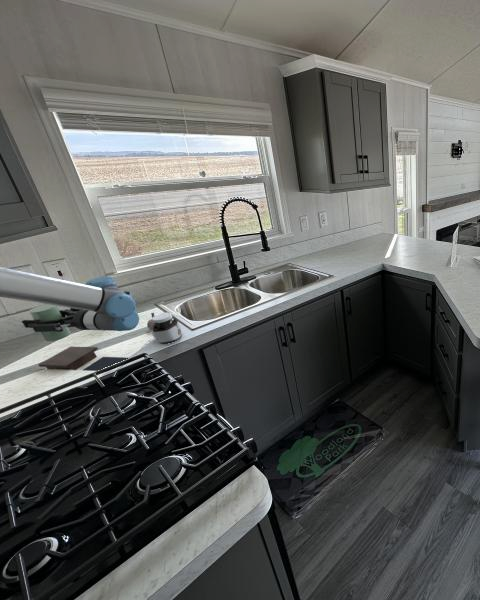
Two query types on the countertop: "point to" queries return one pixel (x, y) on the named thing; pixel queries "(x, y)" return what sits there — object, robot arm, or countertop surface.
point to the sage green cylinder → (47, 314)
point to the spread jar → (165, 328)
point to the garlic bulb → (150, 322)
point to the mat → (104, 363)
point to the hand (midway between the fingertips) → (36, 318)
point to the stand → (70, 358)
